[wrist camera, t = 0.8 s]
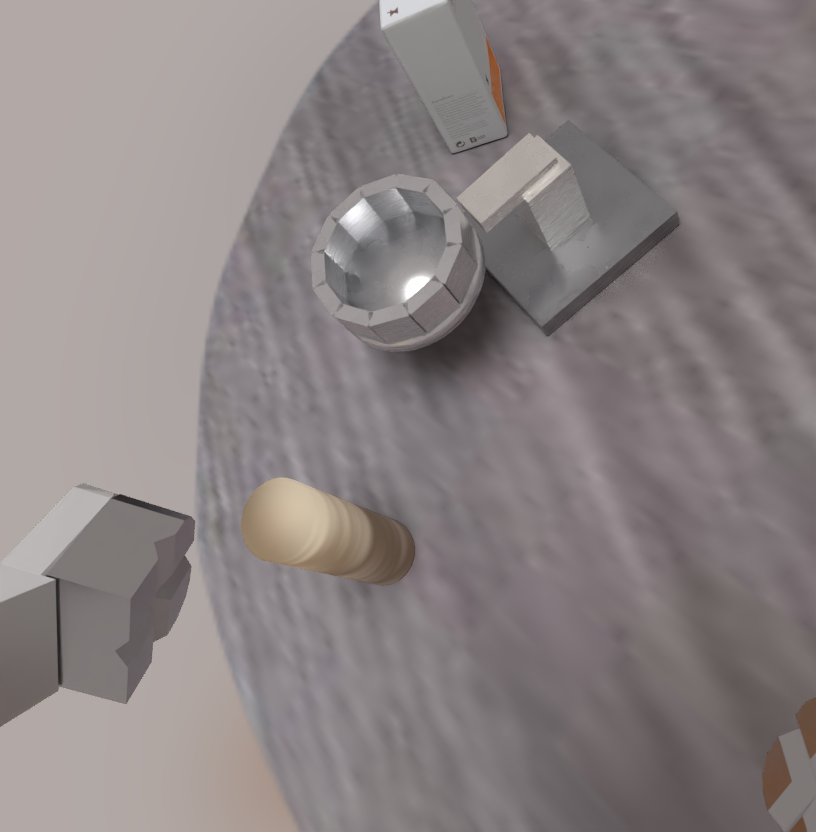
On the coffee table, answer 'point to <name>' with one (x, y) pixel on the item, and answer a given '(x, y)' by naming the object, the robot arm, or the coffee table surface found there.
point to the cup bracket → (485, 241)
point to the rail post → (324, 534)
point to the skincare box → (448, 67)
